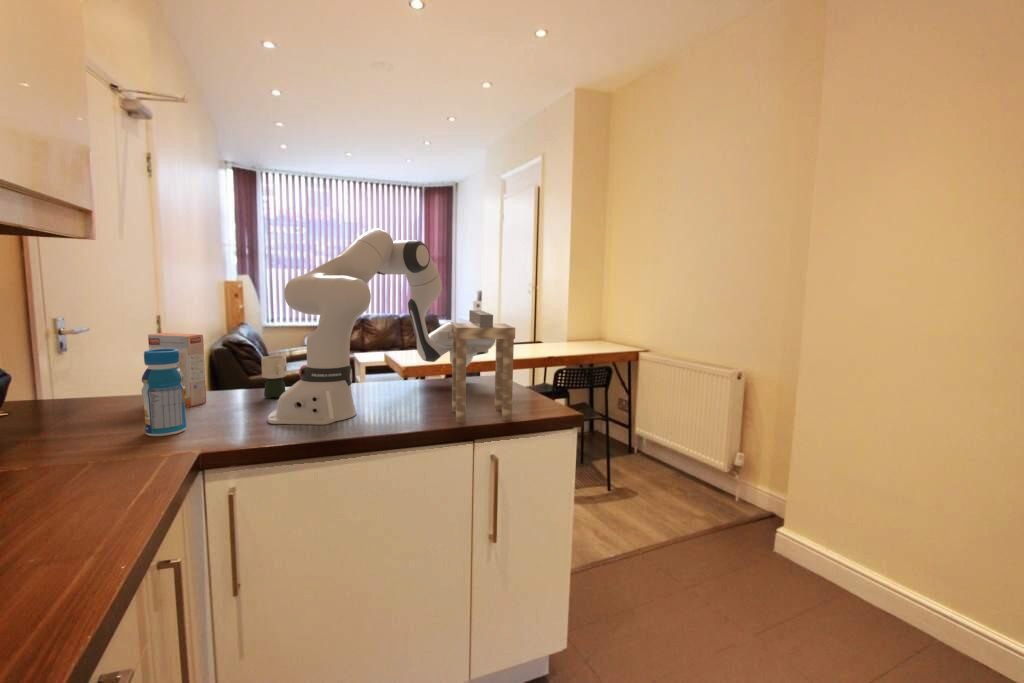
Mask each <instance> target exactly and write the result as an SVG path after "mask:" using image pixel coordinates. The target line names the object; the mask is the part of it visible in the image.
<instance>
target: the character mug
mask: <svg viewBox="0 0 1024 683" xmlns="http://www.w3.org/2000/svg"><path fill="white" fill-rule="evenodd" d="M260 362H261V377H262V378H264V379H266V380H265V383H264V393H263V397H264V398H275V399H279V398H280V396H281V395H282V394H283V393H284V392H285V391H286V390H287V389H286V384H285V381H284V379H283V378H284V377H286V376H287V375H288V371H287V365H288V364H287V363H288V362H287V356H285V355H267V356H263V357H261V361H260Z"/></svg>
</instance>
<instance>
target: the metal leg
mask: <svg viewBox="0 0 1024 683" xmlns="http://www.w3.org/2000/svg"><path fill="white" fill-rule="evenodd" d="M468 321H469V323H473V324H475V325H476V326H478V327H480V328H493V324H494V314H492V313H489V312H487V311H484V310H480V309H479V310H478V309H477V310H476V309H470V310H469V319H468Z"/></svg>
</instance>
